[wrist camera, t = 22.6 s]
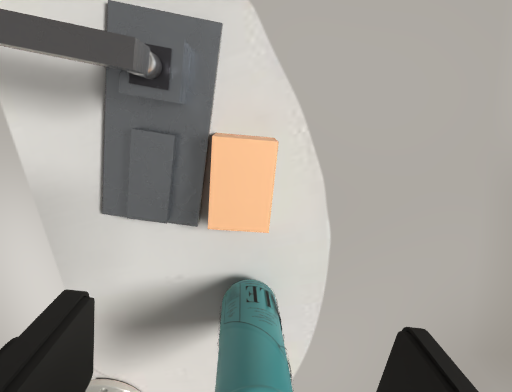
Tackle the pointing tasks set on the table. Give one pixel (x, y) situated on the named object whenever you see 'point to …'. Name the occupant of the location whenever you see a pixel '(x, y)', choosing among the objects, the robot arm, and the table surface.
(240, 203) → the cover
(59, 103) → the table surface
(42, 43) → the t key
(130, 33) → the latch base
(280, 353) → the beverage bottle
